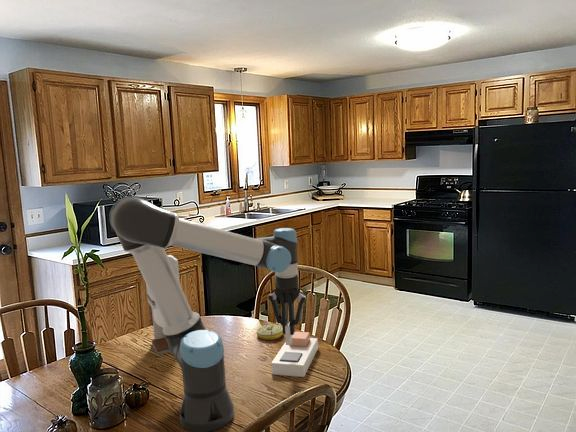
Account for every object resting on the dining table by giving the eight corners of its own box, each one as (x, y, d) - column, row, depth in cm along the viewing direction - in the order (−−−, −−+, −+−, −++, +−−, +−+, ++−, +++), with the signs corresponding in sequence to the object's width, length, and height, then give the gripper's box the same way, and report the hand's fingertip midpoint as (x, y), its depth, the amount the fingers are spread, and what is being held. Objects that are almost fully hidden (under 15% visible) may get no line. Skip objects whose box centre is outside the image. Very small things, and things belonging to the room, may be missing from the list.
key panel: (304, 377, 148) (303, 365, 148) (271, 374, 151) (271, 362, 151) (318, 348, 169) (317, 338, 169) (289, 346, 172) (289, 336, 172)
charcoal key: (297, 369, 151) (297, 360, 150) (280, 367, 152) (280, 359, 152) (302, 361, 157) (301, 352, 156) (285, 359, 158) (285, 351, 158)
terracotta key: (306, 346, 162) (305, 338, 162) (289, 345, 164) (289, 337, 163) (309, 340, 168) (309, 332, 167) (294, 339, 169) (293, 331, 169)
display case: (152, 344, 182) (143, 258, 177) (178, 338, 186) (171, 254, 182) (157, 354, 171) (148, 264, 167) (185, 348, 176) (177, 259, 171)
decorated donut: (267, 329, 191) (267, 320, 191) (288, 334, 185) (288, 325, 185) (251, 338, 183) (251, 329, 182) (273, 343, 177) (272, 334, 176)
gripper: (308, 273, 152) (310, 340, 155) (271, 271, 156) (274, 337, 159) (303, 278, 145) (305, 349, 148) (264, 277, 149) (267, 346, 151)
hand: (289, 343), depth 153 cm, fingers closed
